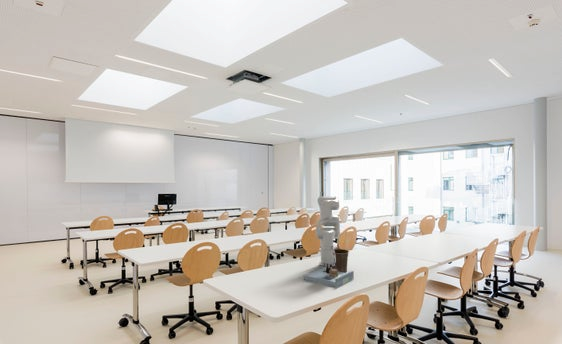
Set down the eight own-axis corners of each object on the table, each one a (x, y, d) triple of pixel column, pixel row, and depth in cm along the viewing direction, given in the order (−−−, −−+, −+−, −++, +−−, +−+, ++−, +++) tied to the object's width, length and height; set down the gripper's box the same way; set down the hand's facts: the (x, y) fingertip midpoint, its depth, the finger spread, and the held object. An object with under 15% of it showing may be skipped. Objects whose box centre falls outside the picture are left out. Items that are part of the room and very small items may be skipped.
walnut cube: (332, 274, 225) (332, 268, 225) (337, 276, 222) (337, 269, 222) (329, 276, 222) (329, 270, 222) (334, 277, 219) (334, 271, 219)
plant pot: (326, 273, 240) (326, 252, 240) (330, 268, 255) (330, 248, 256) (348, 275, 234) (347, 253, 235) (350, 269, 250) (350, 249, 250)
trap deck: (321, 272, 243) (321, 265, 244) (353, 278, 225) (353, 271, 226) (303, 279, 225) (303, 271, 225) (337, 287, 207) (336, 278, 207)
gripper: (339, 248, 224) (340, 273, 223) (322, 245, 234) (322, 270, 233) (334, 250, 218) (334, 276, 217) (316, 247, 228) (317, 272, 227)
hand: (328, 273), depth 225 cm, fingers closed
